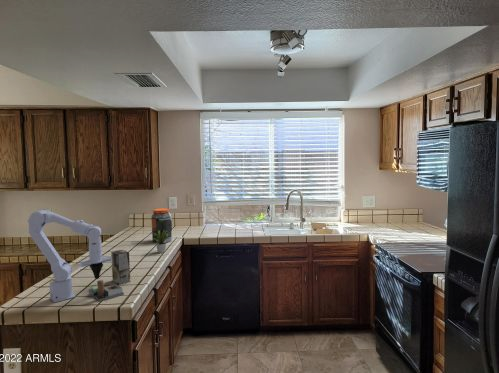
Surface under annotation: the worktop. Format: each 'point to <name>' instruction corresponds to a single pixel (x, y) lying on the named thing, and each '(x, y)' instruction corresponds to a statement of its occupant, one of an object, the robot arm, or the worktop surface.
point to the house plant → (161, 241)
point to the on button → (95, 288)
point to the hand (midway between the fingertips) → (96, 278)
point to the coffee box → (120, 266)
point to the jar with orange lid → (161, 223)
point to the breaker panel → (108, 292)
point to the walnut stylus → (100, 288)
